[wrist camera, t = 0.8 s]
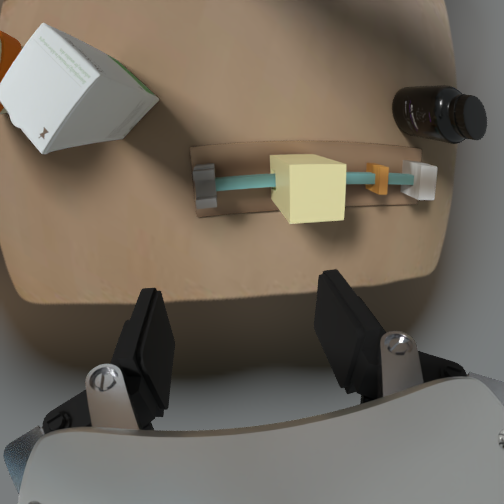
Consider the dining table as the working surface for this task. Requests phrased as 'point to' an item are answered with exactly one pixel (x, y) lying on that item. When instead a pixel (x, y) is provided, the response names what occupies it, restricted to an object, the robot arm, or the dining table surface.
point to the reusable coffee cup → (7, 56)
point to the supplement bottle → (439, 113)
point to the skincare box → (71, 93)
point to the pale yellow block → (308, 187)
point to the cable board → (350, 153)
